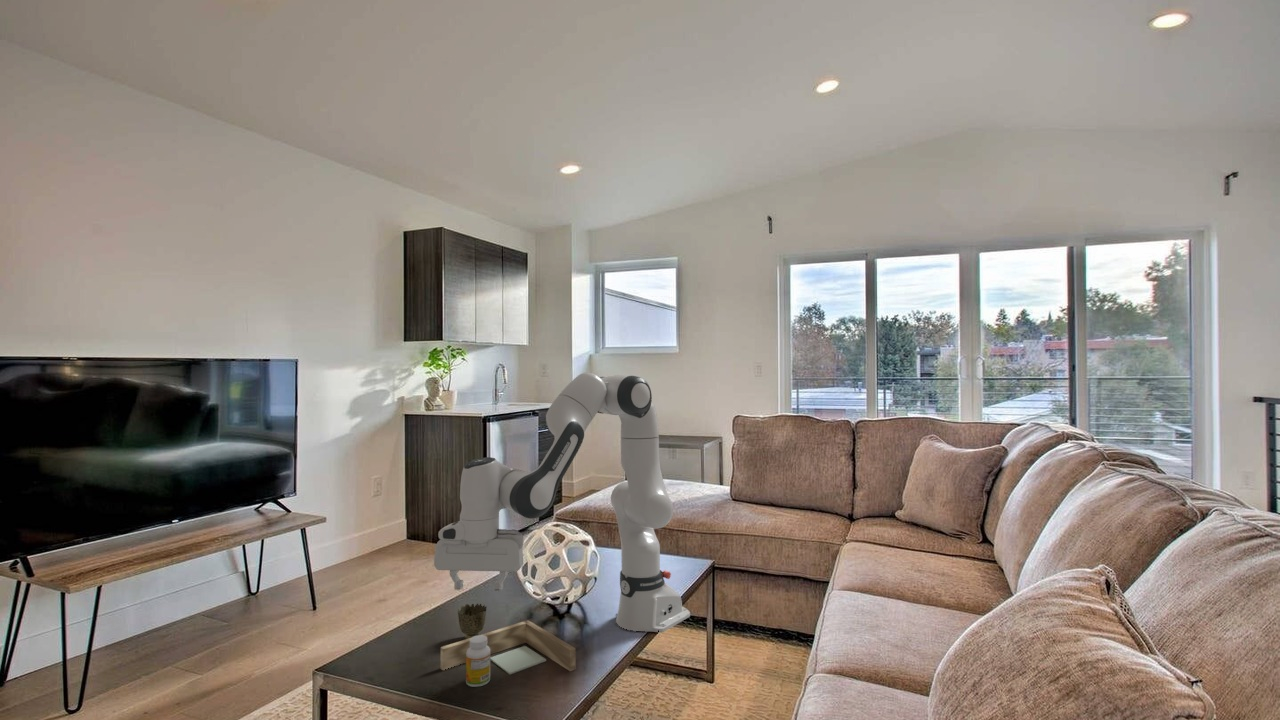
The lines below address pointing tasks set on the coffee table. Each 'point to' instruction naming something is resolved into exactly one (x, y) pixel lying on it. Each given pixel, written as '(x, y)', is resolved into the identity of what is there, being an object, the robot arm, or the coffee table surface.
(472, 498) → the robot arm
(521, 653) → the mat
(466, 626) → the cup
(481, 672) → the supplement bottle
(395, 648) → the coffee table surface
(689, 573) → the coffee table surface
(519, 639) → the oak corner walls
